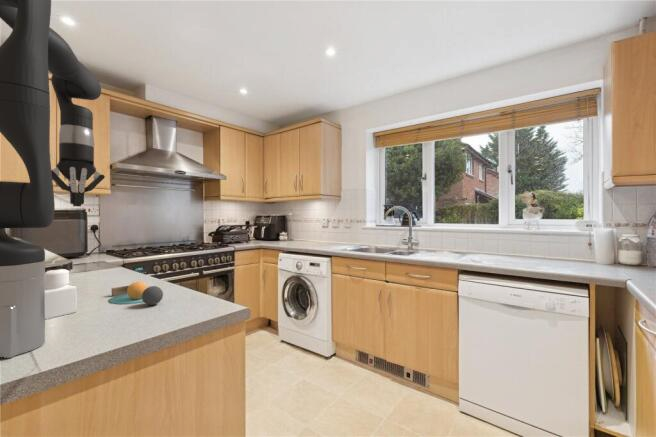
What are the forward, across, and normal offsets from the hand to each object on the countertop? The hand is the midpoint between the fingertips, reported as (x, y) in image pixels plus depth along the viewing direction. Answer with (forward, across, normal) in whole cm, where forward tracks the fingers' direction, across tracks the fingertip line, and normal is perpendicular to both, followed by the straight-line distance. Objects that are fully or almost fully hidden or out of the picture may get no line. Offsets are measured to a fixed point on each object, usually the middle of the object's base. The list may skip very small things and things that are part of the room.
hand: (76, 206), depth 85 cm
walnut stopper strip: (+29, -15, -8) cm, 34 cm away
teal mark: (+29, -15, -1) cm, 33 cm away
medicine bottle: (+29, +5, +1) cm, 30 cm away
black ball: (+26, -16, +11) cm, 33 cm away
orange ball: (+26, -15, +1) cm, 30 cm away
